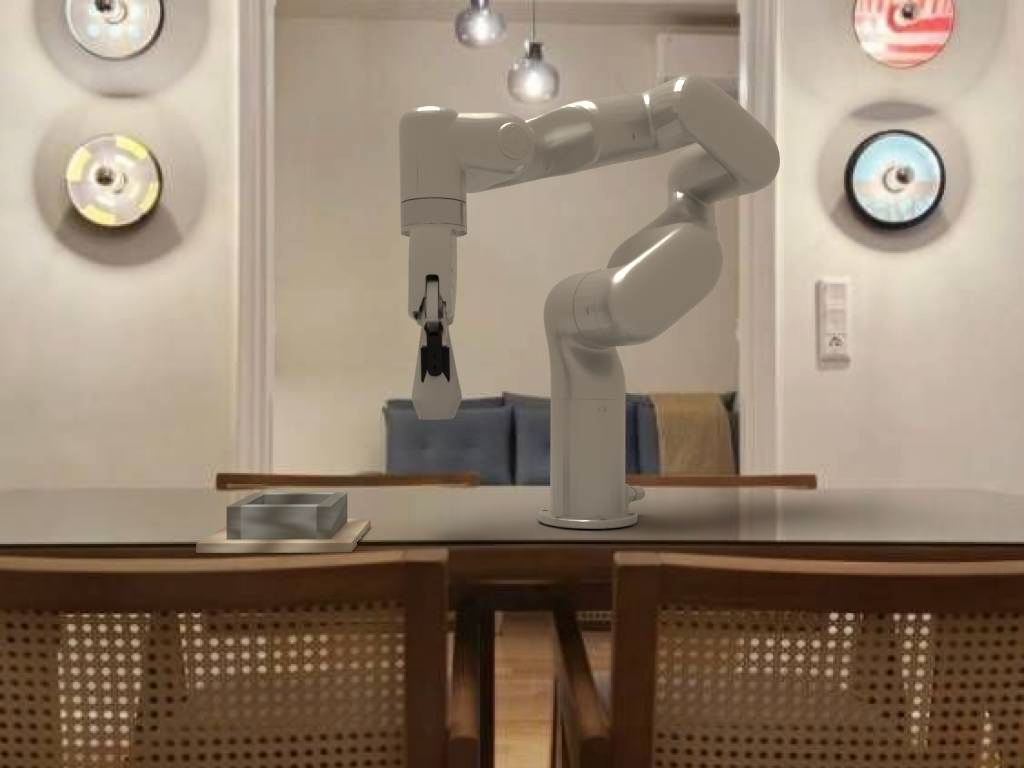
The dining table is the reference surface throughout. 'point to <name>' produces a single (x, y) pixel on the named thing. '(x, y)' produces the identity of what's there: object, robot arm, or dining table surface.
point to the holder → (287, 525)
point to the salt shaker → (436, 386)
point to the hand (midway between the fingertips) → (436, 381)
